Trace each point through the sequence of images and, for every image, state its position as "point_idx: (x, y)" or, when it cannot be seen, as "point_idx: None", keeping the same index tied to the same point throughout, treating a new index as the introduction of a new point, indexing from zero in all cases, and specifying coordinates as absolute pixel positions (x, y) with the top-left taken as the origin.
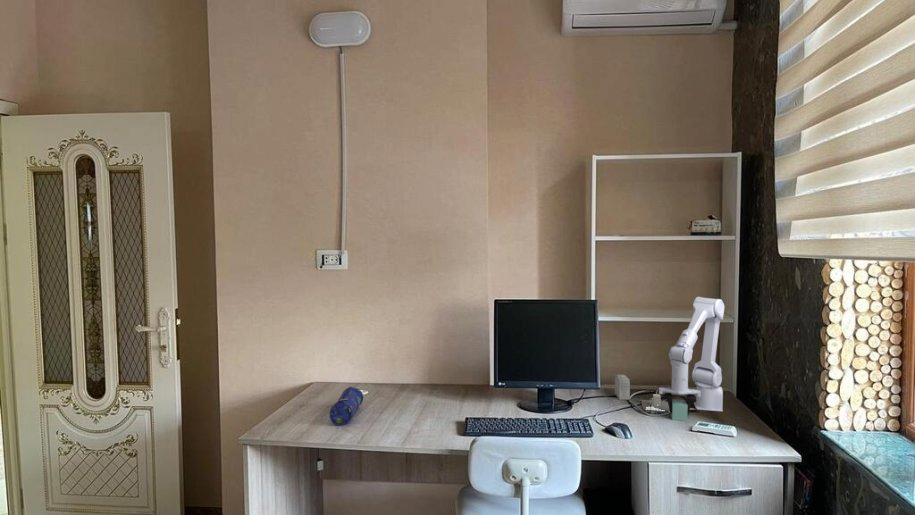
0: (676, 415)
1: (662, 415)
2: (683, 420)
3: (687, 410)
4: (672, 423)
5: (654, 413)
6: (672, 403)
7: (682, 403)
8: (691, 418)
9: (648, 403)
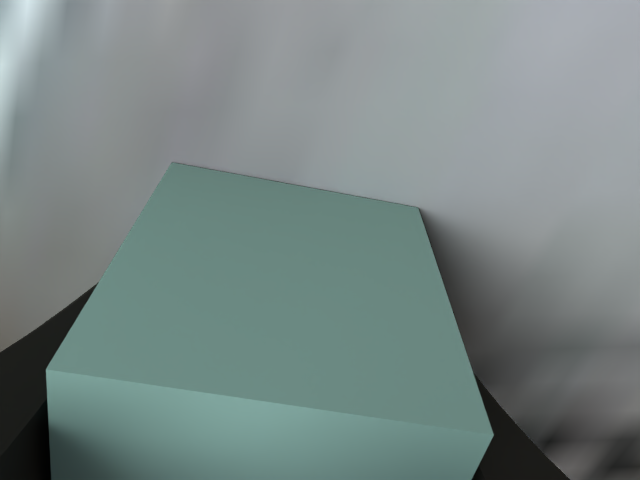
0: (359, 236)
1: (489, 373)
2: (235, 174)
3: None
4: (498, 25)
5: (566, 432)
6: (469, 473)
7: (181, 473)
8: (75, 280)
9: None
